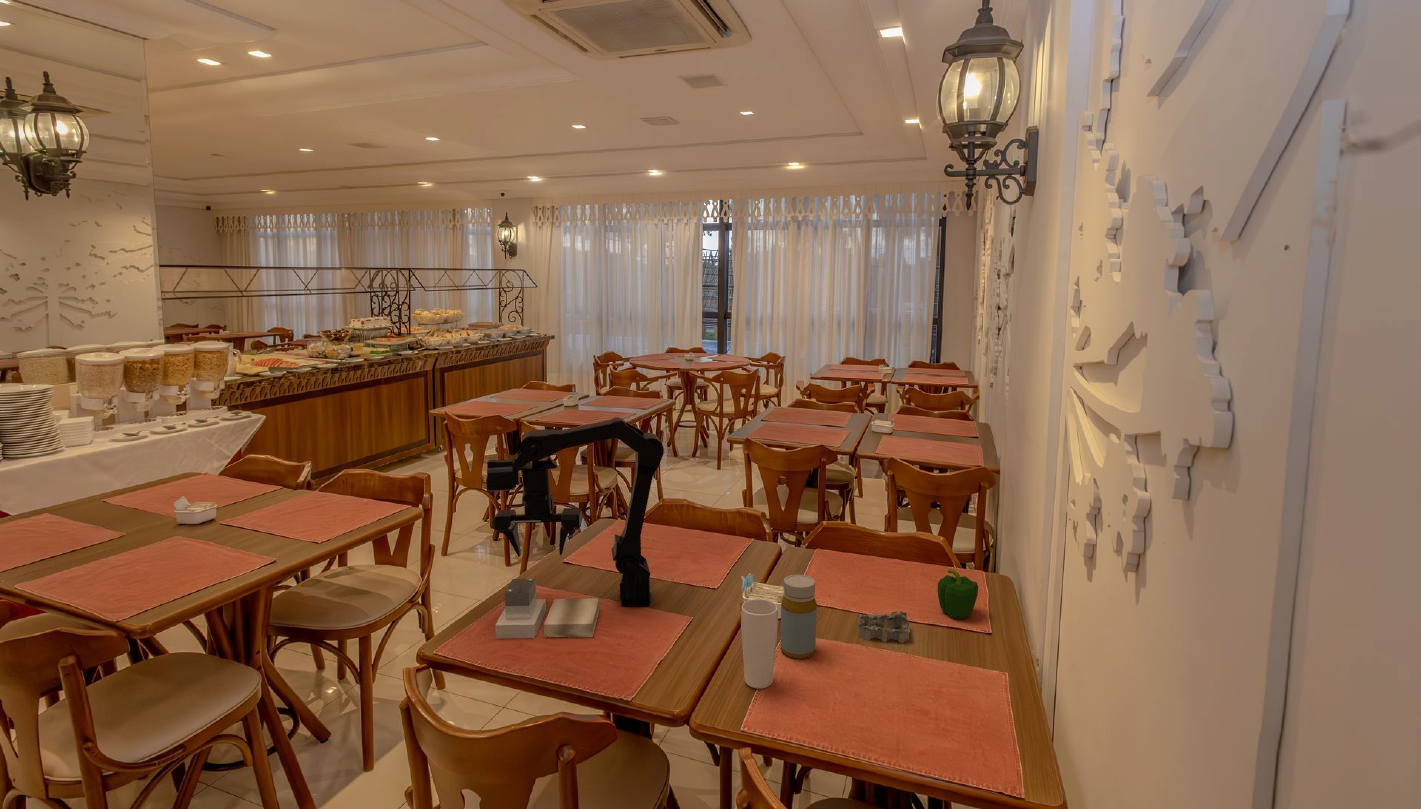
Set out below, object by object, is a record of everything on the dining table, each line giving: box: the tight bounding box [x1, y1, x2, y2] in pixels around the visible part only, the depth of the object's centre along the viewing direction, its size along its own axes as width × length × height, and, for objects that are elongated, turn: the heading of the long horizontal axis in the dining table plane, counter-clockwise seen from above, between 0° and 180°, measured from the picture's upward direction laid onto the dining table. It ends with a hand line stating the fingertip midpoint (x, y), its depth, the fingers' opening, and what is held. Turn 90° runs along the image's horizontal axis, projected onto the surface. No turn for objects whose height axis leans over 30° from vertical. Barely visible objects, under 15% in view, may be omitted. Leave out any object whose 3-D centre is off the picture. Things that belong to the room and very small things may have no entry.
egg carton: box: [857, 611, 911, 644], centre depth 152 cm, size 11×8×4 cm
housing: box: [504, 577, 537, 620], centre depth 155 cm, size 5×7×6 cm
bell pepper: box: [937, 568, 979, 620], centre depth 160 cm, size 8×8×10 cm
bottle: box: [780, 574, 818, 660], centre depth 144 cm, size 7×7×15 cm
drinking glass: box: [740, 598, 779, 689], centre depth 133 cm, size 7×7×15 cm
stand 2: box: [543, 597, 600, 639], centre depth 156 cm, size 10×12×3 cm
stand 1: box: [495, 598, 547, 640], centre depth 156 cm, size 8×12×3 cm, turn 2°
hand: (540, 555), depth 161 cm, fingers open, 9 cm apart
